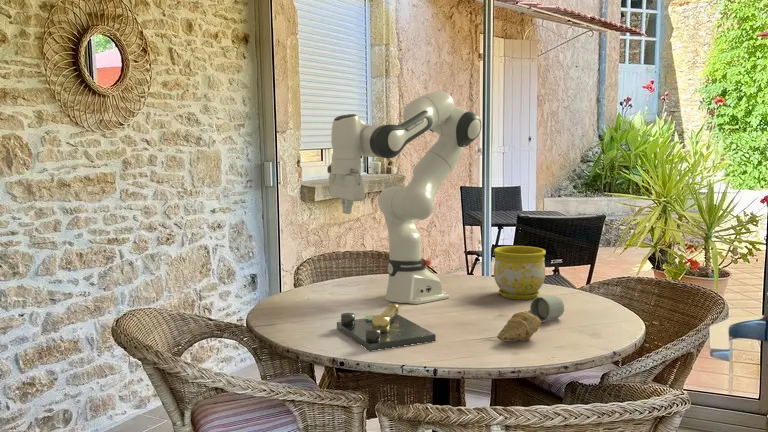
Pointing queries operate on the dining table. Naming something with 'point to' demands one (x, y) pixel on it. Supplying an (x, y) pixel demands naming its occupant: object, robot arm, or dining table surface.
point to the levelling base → (375, 339)
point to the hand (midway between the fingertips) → (347, 213)
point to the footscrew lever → (385, 318)
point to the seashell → (520, 327)
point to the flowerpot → (519, 271)
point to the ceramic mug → (547, 307)
